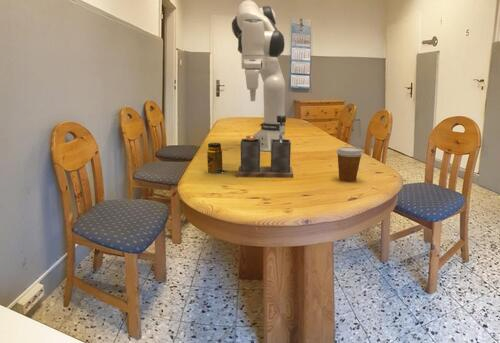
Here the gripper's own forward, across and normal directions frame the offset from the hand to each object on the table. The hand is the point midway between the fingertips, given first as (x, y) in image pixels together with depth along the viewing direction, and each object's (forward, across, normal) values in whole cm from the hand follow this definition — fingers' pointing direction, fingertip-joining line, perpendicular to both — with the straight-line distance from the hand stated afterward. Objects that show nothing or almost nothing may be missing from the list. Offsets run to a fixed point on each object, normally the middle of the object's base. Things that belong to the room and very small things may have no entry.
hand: (252, 101), depth 145 cm
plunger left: (+26, 0, -1) cm, 26 cm away
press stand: (+29, 0, +5) cm, 30 cm away
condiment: (+29, -2, -15) cm, 33 cm away
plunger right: (+18, 0, +11) cm, 21 cm away
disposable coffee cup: (+29, +7, +37) cm, 48 cm away
